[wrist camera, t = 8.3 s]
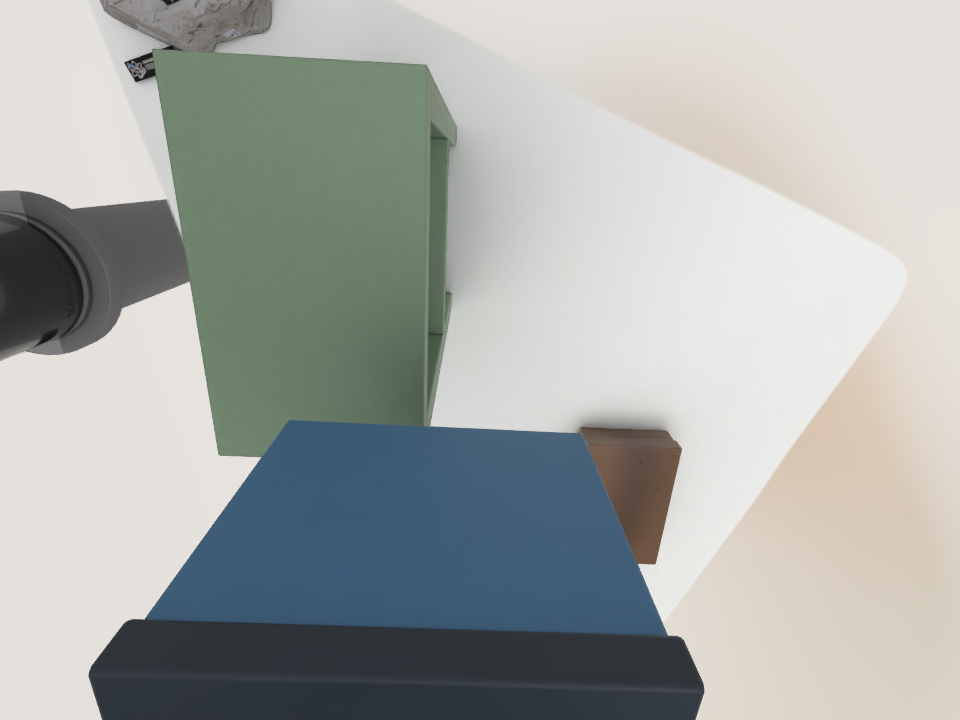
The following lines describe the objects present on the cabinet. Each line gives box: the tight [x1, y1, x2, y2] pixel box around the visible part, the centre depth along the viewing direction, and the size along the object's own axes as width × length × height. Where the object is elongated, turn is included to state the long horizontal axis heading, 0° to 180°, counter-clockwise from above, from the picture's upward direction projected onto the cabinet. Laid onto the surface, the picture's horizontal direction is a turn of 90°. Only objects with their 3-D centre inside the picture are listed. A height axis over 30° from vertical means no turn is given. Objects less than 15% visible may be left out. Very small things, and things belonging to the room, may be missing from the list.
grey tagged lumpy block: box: [100, 0, 271, 82], centre depth 28 cm, size 10×3×5 cm
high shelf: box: [152, 49, 456, 457], centre depth 24 cm, size 12×7×20 cm, turn 177°
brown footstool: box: [579, 428, 682, 564], centre depth 40 cm, size 7×11×3 cm, turn 177°
